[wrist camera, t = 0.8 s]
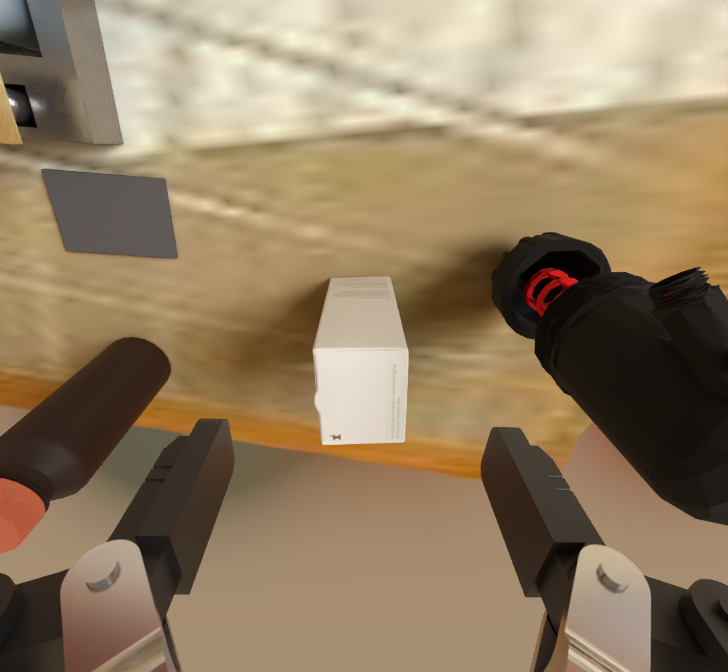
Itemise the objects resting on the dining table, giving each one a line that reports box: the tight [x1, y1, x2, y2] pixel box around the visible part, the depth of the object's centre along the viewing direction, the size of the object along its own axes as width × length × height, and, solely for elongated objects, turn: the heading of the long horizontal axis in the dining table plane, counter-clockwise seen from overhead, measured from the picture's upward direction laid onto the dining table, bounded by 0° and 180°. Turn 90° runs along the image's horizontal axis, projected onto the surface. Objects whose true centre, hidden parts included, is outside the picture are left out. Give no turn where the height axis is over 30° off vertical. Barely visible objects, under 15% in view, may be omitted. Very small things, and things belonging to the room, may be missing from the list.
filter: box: [491, 232, 728, 525], centre depth 23 cm, size 14×9×30 cm
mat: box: [41, 169, 178, 258], centre depth 33 cm, size 7×10×1 cm
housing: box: [0, 0, 123, 144], centre depth 25 cm, size 16×10×4 cm, turn 175°
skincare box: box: [312, 276, 408, 445], centre depth 31 cm, size 8×7×16 cm
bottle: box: [0, 337, 171, 553], centre depth 32 cm, size 7×7×20 cm
